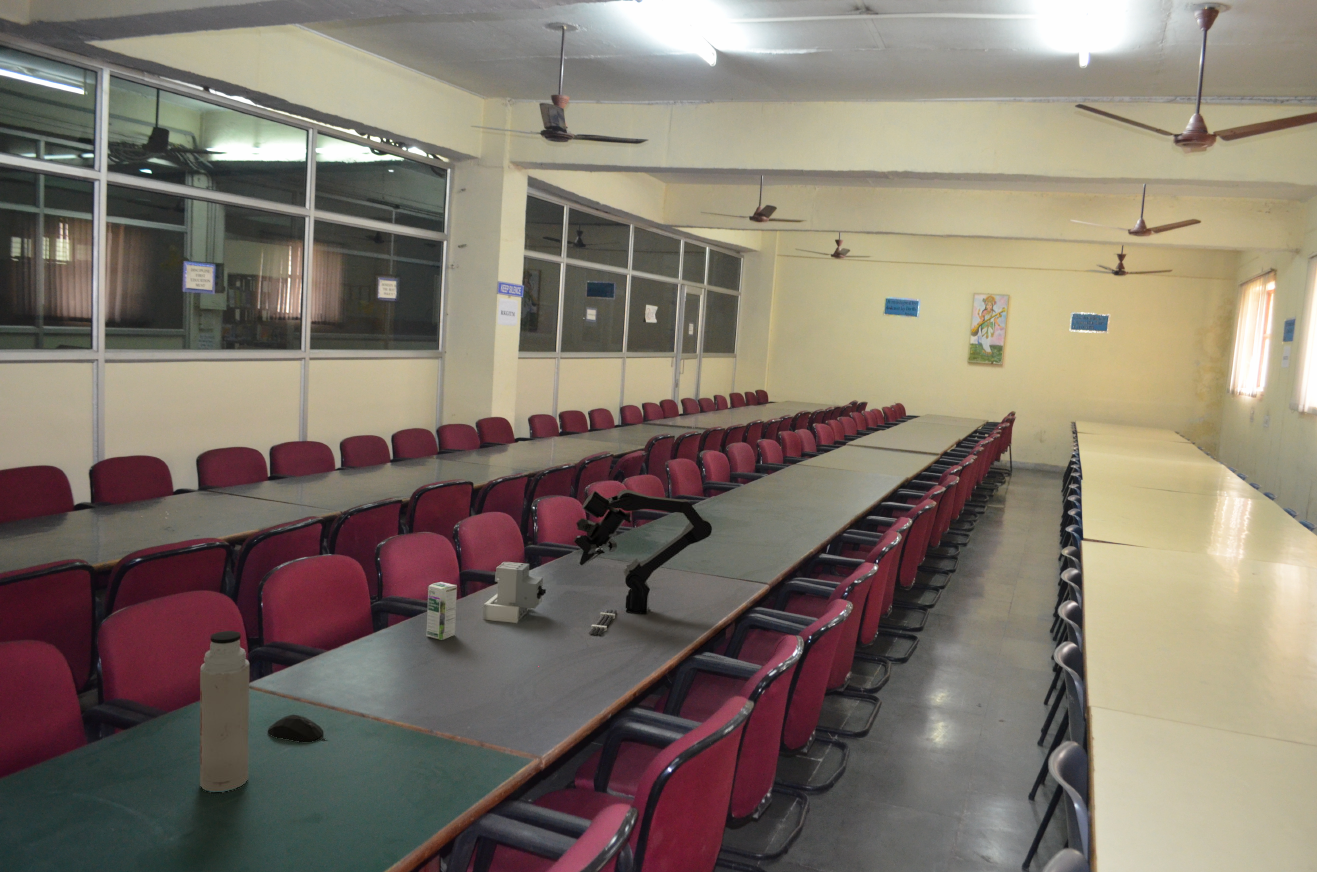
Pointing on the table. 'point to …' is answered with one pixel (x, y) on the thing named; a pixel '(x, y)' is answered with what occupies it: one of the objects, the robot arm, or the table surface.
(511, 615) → the mounting bay
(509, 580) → the circuit breaker
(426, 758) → the table surface
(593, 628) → the dressed cords
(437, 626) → the syrup box
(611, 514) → the robot arm
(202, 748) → the thermos bottle
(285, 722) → the gaming mouse
